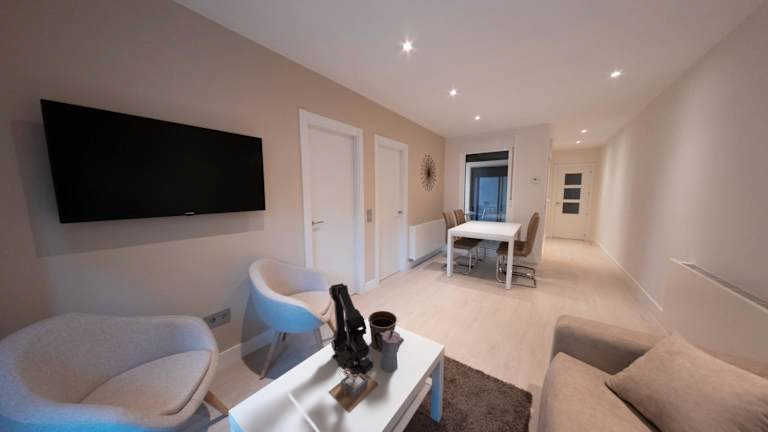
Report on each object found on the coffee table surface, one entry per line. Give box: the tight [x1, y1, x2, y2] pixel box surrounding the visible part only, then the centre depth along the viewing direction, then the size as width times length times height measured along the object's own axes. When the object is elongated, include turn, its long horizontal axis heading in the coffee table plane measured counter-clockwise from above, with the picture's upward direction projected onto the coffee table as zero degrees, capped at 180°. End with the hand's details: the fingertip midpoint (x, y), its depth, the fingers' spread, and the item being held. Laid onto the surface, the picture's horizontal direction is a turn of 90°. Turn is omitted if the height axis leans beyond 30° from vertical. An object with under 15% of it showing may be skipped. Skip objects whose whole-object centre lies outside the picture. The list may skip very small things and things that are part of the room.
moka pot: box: [374, 330, 405, 374], centre depth 116 cm, size 10×15×20 cm, turn 78°
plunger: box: [345, 364, 364, 390], centre depth 103 cm, size 6×6×7 cm
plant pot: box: [367, 310, 398, 353], centre depth 132 cm, size 16×16×16 cm
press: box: [340, 373, 368, 400], centre depth 103 cm, size 8×10×4 cm
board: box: [328, 373, 380, 414], centre depth 104 cm, size 14×18×1 cm
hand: (354, 373), depth 103 cm, fingers closed on plunger, 3 cm apart
